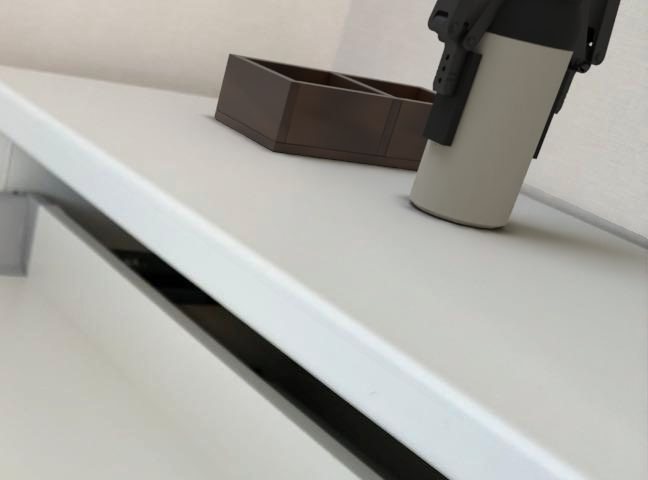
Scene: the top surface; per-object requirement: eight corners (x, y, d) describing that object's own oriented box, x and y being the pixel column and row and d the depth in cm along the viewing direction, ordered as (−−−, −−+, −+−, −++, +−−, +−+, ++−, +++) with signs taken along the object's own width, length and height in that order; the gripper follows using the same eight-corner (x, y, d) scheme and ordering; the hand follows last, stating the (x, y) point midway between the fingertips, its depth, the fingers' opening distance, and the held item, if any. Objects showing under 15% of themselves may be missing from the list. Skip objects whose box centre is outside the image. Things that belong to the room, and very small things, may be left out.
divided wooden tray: (402, 145, 114) (421, 86, 111) (472, 177, 105) (495, 115, 102) (213, 118, 105) (228, 53, 102) (272, 151, 96) (291, 81, 93)
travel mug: (501, 216, 91) (593, -23, 82) (509, 237, 84) (609, -21, 75) (407, 192, 92) (487, -47, 83) (407, 211, 85) (494, -47, 76)
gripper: (670, -165, 81) (547, 150, 92) (450, -238, 72) (344, 119, 84) (752, -160, 75) (610, 175, 87) (524, -239, 67) (400, 145, 78)
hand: (480, 147), depth 85 cm, fingers closed on travel mug, 8 cm apart
